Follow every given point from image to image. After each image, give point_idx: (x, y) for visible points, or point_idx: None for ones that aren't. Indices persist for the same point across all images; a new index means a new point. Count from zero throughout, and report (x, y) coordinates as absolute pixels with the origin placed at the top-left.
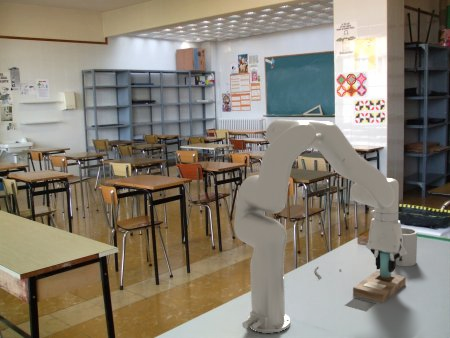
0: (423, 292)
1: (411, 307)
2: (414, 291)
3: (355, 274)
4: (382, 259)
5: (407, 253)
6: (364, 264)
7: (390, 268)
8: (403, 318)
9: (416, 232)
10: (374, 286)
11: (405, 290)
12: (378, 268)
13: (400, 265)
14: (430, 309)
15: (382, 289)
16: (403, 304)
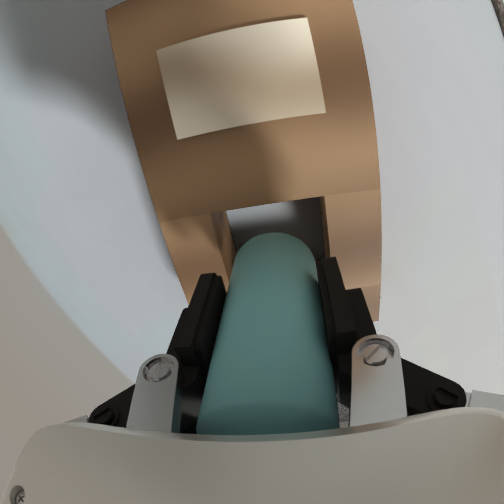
0: (113, 289)
1: (39, 116)
2: (139, 275)
3: (471, 261)
4: (273, 337)
5: None
6: (459, 362)
7: (196, 293)
8: (14, 16)
9: None
10: (227, 58)
11: (170, 258)
12: (318, 264)
13: (340, 422)
14: (4, 167)
15: (160, 71)
16: (72, 109)
